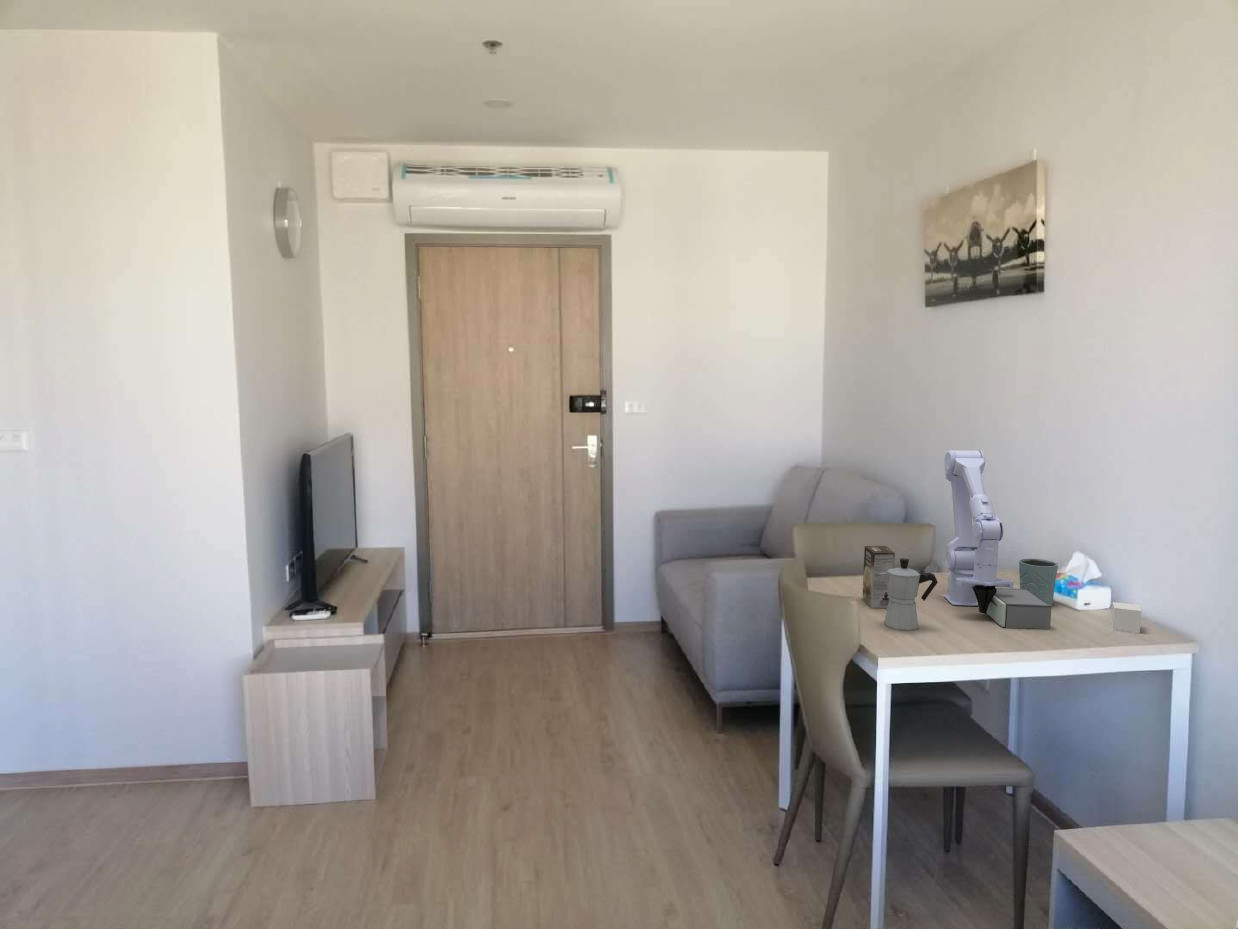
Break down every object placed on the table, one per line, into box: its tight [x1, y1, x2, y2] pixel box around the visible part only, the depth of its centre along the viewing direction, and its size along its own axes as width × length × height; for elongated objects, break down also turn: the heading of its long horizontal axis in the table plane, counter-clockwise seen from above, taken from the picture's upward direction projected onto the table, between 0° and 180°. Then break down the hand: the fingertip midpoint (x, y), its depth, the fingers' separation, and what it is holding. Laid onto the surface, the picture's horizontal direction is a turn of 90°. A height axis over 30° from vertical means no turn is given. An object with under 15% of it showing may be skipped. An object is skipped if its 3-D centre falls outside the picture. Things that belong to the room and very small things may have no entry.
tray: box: [986, 595, 1006, 628], centre depth 225 cm, size 16×11×6 cm
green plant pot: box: [1018, 558, 1059, 606], centre depth 241 cm, size 10×10×12 cm
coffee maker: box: [879, 557, 939, 632], centre depth 218 cm, size 15×9×18 cm, turn 82°
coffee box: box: [862, 545, 896, 609], centre depth 239 cm, size 9×6×16 cm
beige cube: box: [1110, 601, 1142, 634], centre depth 218 cm, size 6×6×6 cm
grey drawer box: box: [995, 587, 1053, 630], centre depth 225 cm, size 16×11×6 cm
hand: (982, 612), depth 227 cm, fingers closed
